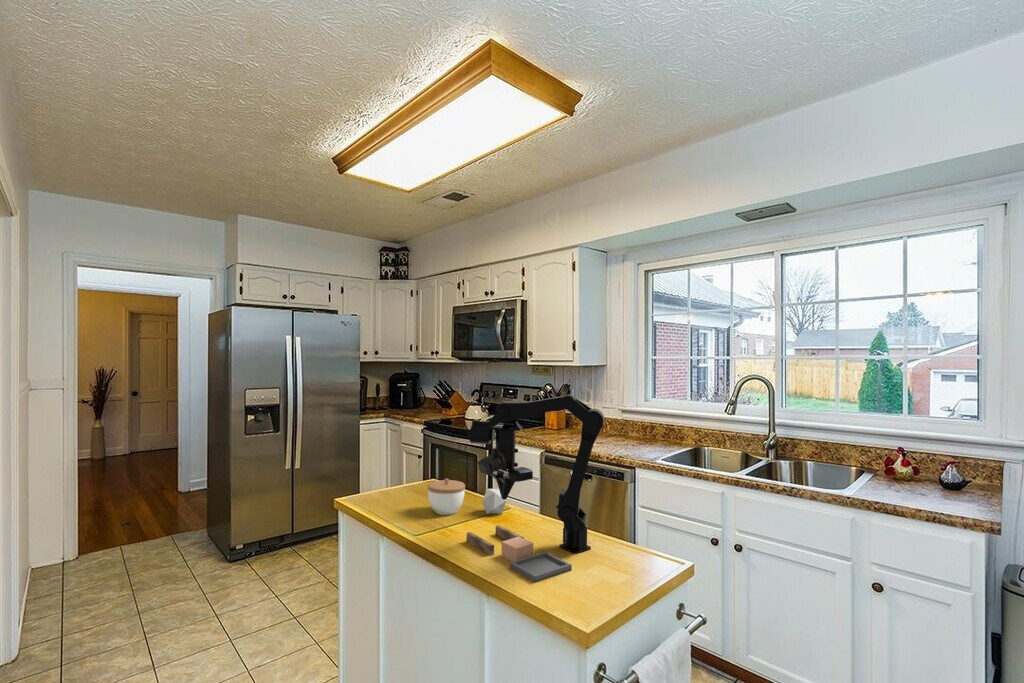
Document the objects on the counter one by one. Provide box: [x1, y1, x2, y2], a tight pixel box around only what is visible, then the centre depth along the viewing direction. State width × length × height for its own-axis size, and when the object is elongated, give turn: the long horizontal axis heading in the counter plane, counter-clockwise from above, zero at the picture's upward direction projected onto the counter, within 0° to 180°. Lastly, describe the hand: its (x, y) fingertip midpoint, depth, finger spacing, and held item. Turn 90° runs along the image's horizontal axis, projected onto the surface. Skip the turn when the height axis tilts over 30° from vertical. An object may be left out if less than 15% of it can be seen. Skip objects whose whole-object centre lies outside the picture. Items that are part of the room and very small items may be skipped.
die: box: [482, 488, 507, 515], centre depth 171 cm, size 8×9×10 cm
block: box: [501, 537, 534, 562], centre depth 135 cm, size 6×6×4 cm
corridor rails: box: [466, 525, 525, 556], centre depth 143 cm, size 12×11×2 cm
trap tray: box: [509, 551, 573, 583], centre depth 127 cm, size 10×12×1 cm
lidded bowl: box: [427, 478, 466, 516], centre depth 171 cm, size 13×13×11 cm
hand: (504, 499), depth 146 cm, fingers closed
